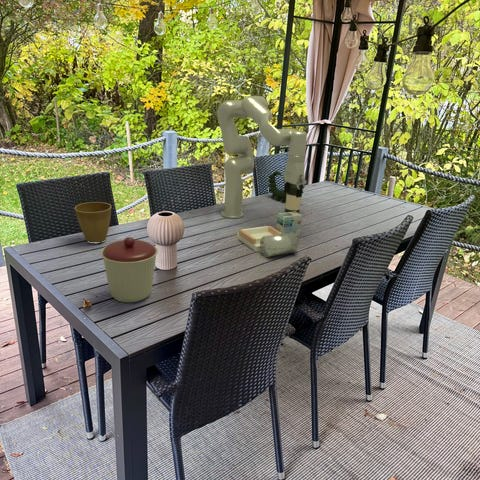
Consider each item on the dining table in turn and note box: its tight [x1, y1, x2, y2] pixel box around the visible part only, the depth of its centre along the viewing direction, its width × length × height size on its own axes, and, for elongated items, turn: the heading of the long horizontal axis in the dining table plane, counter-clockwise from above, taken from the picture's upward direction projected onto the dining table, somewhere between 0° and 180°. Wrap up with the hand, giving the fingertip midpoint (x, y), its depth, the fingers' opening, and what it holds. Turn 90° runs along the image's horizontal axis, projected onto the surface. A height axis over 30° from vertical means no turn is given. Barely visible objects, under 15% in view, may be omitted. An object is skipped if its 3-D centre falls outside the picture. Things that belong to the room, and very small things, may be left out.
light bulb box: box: [275, 211, 303, 237], centre depth 206 cm, size 11×7×11 cm, turn 117°
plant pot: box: [74, 201, 112, 242], centre depth 183 cm, size 15×15×16 cm
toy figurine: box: [267, 170, 305, 203], centre depth 260 cm, size 9×19×25 cm
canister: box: [100, 236, 159, 303], centre depth 140 cm, size 18×18×21 cm
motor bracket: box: [236, 225, 299, 258], centre depth 191 cm, size 28×18×9 cm, turn 29°
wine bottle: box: [284, 183, 302, 214], centre depth 232 cm, size 8×8×30 cm
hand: (292, 194), depth 200 cm, fingers open, 9 cm apart
